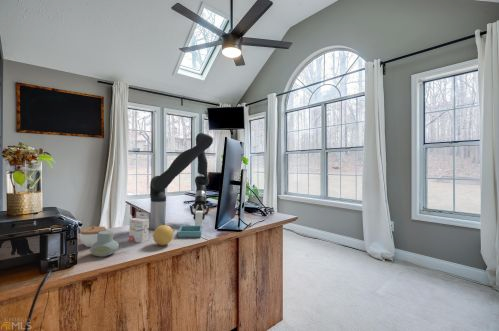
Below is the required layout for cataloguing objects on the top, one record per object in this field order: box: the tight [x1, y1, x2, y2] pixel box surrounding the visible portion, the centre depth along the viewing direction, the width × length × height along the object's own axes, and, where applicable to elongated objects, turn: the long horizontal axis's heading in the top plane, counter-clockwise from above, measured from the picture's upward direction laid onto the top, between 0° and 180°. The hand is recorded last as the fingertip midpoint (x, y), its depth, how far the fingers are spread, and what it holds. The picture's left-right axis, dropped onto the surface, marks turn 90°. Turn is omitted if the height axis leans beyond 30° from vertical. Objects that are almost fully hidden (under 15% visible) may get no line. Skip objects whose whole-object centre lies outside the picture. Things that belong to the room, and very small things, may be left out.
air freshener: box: [89, 229, 120, 258], centre depth 104 cm, size 11×8×10 cm
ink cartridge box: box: [128, 211, 150, 244], centre depth 123 cm, size 9×5×15 cm, turn 74°
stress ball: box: [152, 224, 174, 246], centre depth 119 cm, size 10×10×10 cm
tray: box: [177, 225, 203, 239], centre depth 137 cm, size 13×13×4 cm
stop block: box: [194, 211, 203, 227], centre depth 153 cm, size 4×4×10 cm
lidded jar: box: [79, 225, 107, 248], centre depth 115 cm, size 11×11×9 cm
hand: (198, 219), depth 152 cm, fingers closed on stop block, 4 cm apart
